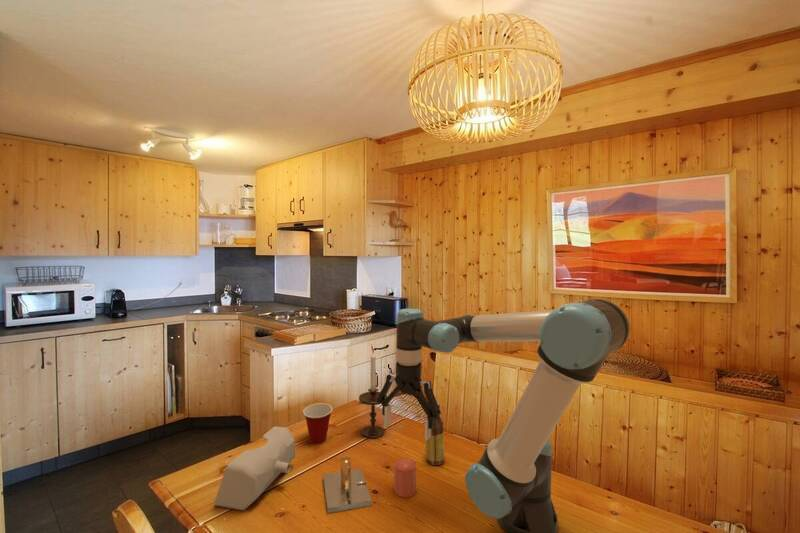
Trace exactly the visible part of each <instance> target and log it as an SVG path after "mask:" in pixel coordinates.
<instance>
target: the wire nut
mask: <svg viewBox="0 0 800 533" xmlns="http://www.w3.org/2000/svg"><path fill="white" fill-rule="evenodd" d="M393 490H394V493H395V495H397V496H399V497H402V498H407V497H413V496H414V494H415V493H416V492H417V464H416V461H415V460H414V459H412V458H409V457H401V458H398V459H397V460H395V462H394V466H393Z"/></svg>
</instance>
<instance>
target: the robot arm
mask: <svg viewBox="0 0 800 533" xmlns="http://www.w3.org/2000/svg"><path fill="white" fill-rule="evenodd" d="M423 315H424V312H423V311H422V310H421V309H419V308H402V309H399V310H398V311H397V314H396V323H395V325H396V345H395V347H396V348H395V349H396V352H395V360H396V363H395V373H393V372H391V373H388V374H387V375H386V378H385V382H384V384H383V387H382V388H381V390H380V391H379V392H380V394H379V396H378V398H377V402H378V403H379V402H380V403H381V404H380V405H381V406H382V411H381V412H382V416H384V417H383V419H384V421H383V428H384V429H388V428H389V427H391V425H392V403H390V402H392V400H393V399H394V398H395V397H396V396H397V395H398V393H400V392H401V393H402V394H407V395H409V396H413V397H414V398H415V399H416V400H417V402H418V404H419V405H420V407H421V409H422V410H423V412H424V414H425V415H426V417H425V418H424V441H425V442H426V441H427V440H428V439H429V438H430V437H431V429H432V428H433V427H434V417H435V418H437V417H438V416H439V415H441V414H442V412H441V410H440V408H439V406H438V404H437V402H438V401H437V399H436V396H435V394H434V392H433V389H432V382H431V381H430V380H427V381H422V363H421V362H422V357H423V356H422V353H423V350H422V349H423V347H424V348H427V349H429V350H434V351H436V352H439V353H445V354H448V353H453V351H454V349H456V348H457V347H458V345H459V344H460V345H461V344H464V343H480V342H481V343H482V342H483V343H485V342H488V343H489V342H493V343H494V342H495V343H498V342H500V343H501V342H502V343H503V342H504V343H505V342H512V343H513V342H514V343H516V342H517V343H518V342H521V343H522V342H525V343H527V342H529V343H530V342H534V343H535V342H540V344H539V346H538V348H537V349H536V353H537V356H538V358H539V362H538V364H537V366H536V368H535V370H534V371H533V374H532V375H531V377H530V379H529V381H528V383H527V385H526V387H525V388H524V390H523V392H522V394H521V397H520V398H519V400H518V402H517V404H516V406H515V408H514V410H513V412H512V413H511V415H510V417H509V419H508V421H507V422H506V425H505V427H504V428H503V431H502V432H501V435H499V437H498V438H497V437H496V438H493V439H491V440H490V441H489V442H488V444H487V445H486V448H485V450H484V451H483V453H482V456H481V457H480V459H479V460H478V461H477V462H476V463H472V464H471V465H470V467H469V468H468V469H467V471H466V473H465V486H466V487H465V488H466V490H467V491H468V495H469V497H470V499H471V501H472V502H473V504H474V505H475V507H476V508H477V509H478V510H479V511H480V512H482V513H483V514H484V515H485V516H488V517H489V518H493V519H496V520H497V522H498V524H499V526H501V528H502V529H503V530H504V531H505V532H506V533H558V527H559V525H558V524H559V523H558V522H559V520H558V515H557V512H556V510H555V506H554V503H553V500H552V496H551V495H552V486H551V485H552V467H553V466H552V464H553V461H552V460H553V453H552V443H551V441H550V440H549V438H550V437H551V435H552V433H553V431H554V430H555V428H556V426H557V425H558V423H559V421H560V420H561V418H562V416H563V415H564V412H565V411H566V409H567V408H568V406H569V404H571V403H570V402H572V399H573V398H574V396H575V394H576V393H577V391H578V389H579V388H580V386H581V385H583V384H589V383H592V382H593V381H594V379H595V378H596V376H597V375H598V372H599V371H600V370H601V368H602V366H603V364H604V363H605V362H606V359H608V357H609V356H610V355H611V354H614V353H615V352H617V351H618V350H619V349H621V348H622V347H623V346H625V344H626V342H627V340H628V339H629V337H630V332H631V330H630V329H631V328H630V327H631V325H630V320H629V318H628V316H627V314H626V313H625V311H624V310H623V309H622V308H621V307H619V306H618V305H617V304H615V303H614V302H613V301H609V300H605V299H601V298H600V299H599V298H595V299H594V298H593V299H588V300H584V301H580V302H571V303H566V304H563V305H560V306H558V308H556V309H552V310H551V309H548V310H535V311H533V310H532V311H522V312H521V311H520V312H507V313H493V314H492V313H491V314H480V315H476V314H475V315H474V314H467V315H462V316H458V317H453V318H447V319H442V320H430V319H426V318H424V316H423ZM395 374H396V375H395ZM393 382H395V383H396V387H394V389H393V390H392V392H390V393H389V394H388V392H389V390H390V389H391V386H392V384H393ZM421 387H422V388H421ZM423 390H424V393H423ZM386 395H387V398H386V399H385V396H386Z"/></svg>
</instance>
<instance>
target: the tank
mask: <svg viewBox="0 0 800 533" xmlns="http://www.w3.org/2000/svg"><path fill="white" fill-rule="evenodd" d="M262 437H263V439H265V441H266V443H265V444H264V445H262V446H260V447H258V448H253V449H245V450H244V451H243V452H242V453H240V454H239V455H238V456H236V457H235V458H234V459H233V460H232V461H229V463H228V465H227V466H226V467H225V469H224V472H223V475H222V478H221V482H220V484H219V488H218V490H217V494H216V498H215V500H214V502H213V505H214V506H216V507H222V508H227V509H228V508H229V509H234V510H239V511H245V510H247V508H248V507H250V506H251V505H252V504H253V503H254V502H255V501H256V500H257V499H258V498H259V497H260V496H261V495H262V494H263V493H264V492H265V490H266V489H267V488H268V487H269V486H270V485H271V484H272V483H273V482H274V481H275V480H276V479H277V477H278V476H279V475H280V474H281V473H286V474H289V472H290V471H291V468H292V467H291V462H292V461H294V459H295V458H296V439H295V437H294V436H293V434H292V432H291V431H290V429H289V428H288V427H284V426H283V427H282V426H275V425H274V426H273V427H271V429H269V430H268V431H267V432H266V433H265V434H263V436H262Z"/></svg>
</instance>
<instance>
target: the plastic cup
mask: <svg viewBox="0 0 800 533" xmlns="http://www.w3.org/2000/svg"><path fill="white" fill-rule="evenodd" d="M332 412H333V407H332V405H330V404H329V403H324V402H323V403H322V402H317V403H312V404H310V405H308V406H306V407H305V408H303V411H302V414H303V416H304V417H305V421H306V427H307V432H308V437H309V441H310V443H312V444H314V445H317V444H318V445H319V444H322V443H325V441H326V439H327V436H328V430H329V426H330V425H329V424H330V418H331V414H332Z"/></svg>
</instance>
